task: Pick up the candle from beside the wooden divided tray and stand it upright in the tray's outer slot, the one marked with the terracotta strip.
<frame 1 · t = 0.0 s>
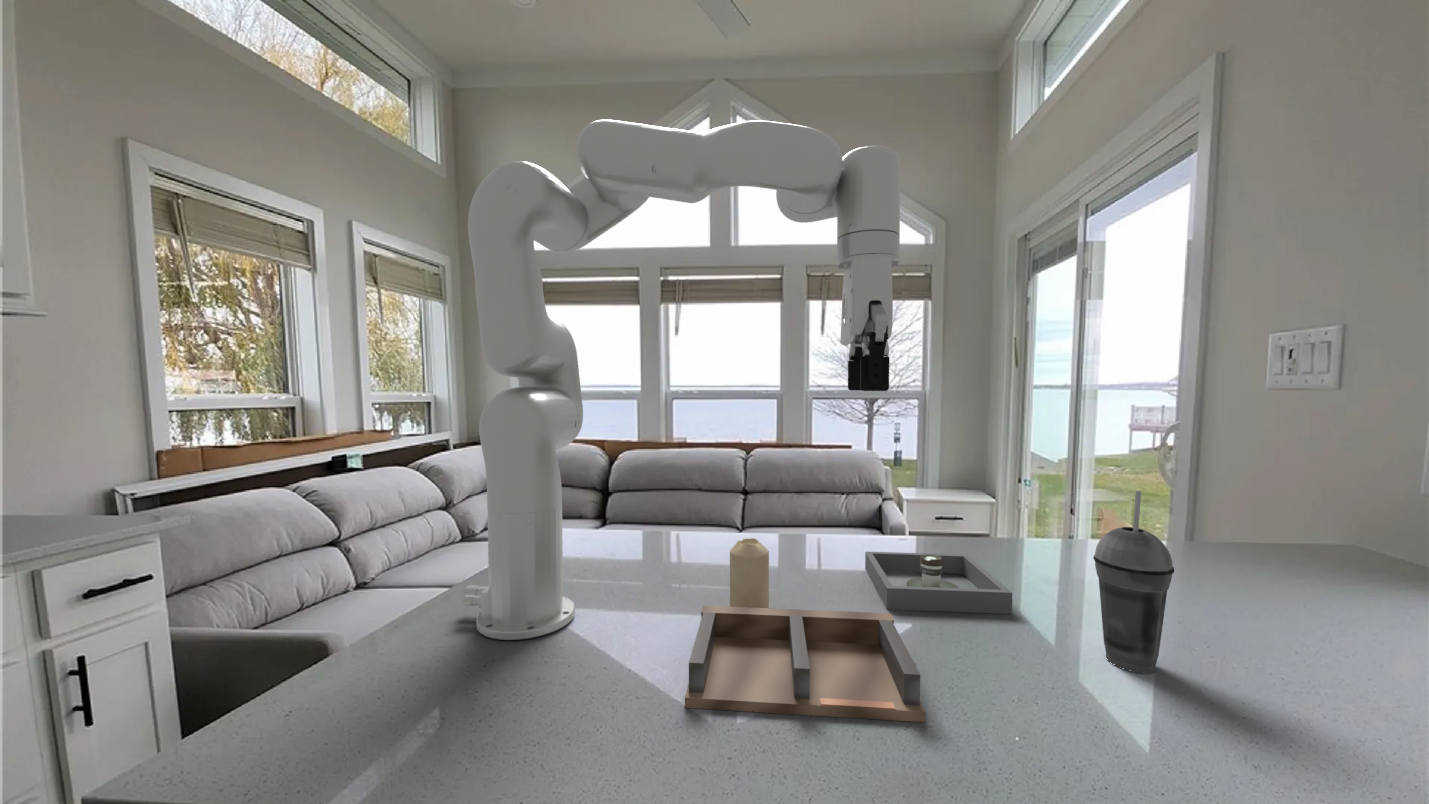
hand: (866, 390, 67), 31 cm above the countertop, fingers open, 9 cm apart
candle: (749, 612, 75), on the countertop
beverage cup: (1130, 664, 61), on the countertop
coffee cup: (930, 588, 84), resting in grey shallow square tray
grey shallow square tray: (930, 588, 84), on the countertop
wooden divided tray: (798, 673, 59), on the countertop
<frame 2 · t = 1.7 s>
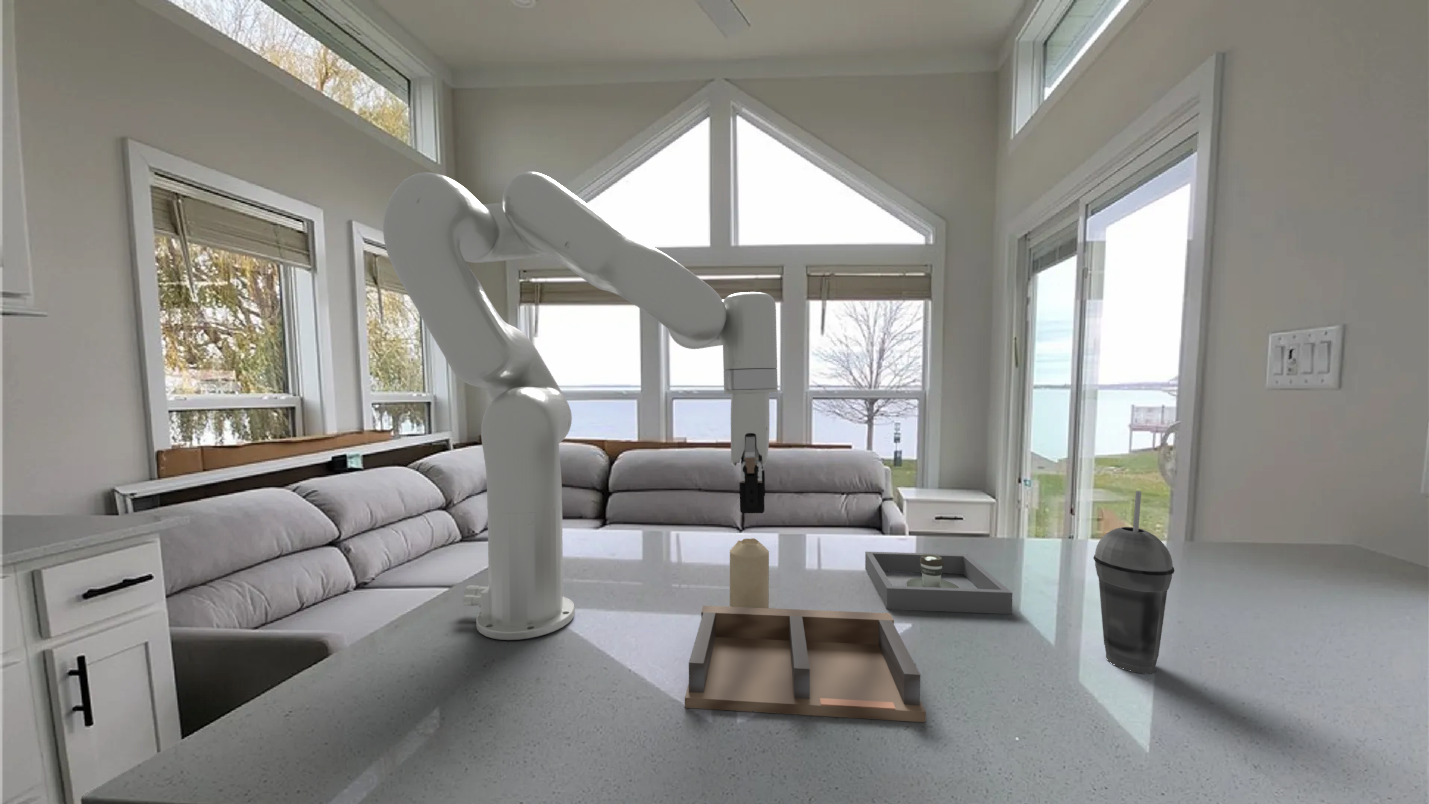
hand: (753, 504, 75), 15 cm above the countertop, fingers open, 9 cm apart
nothing on the countertop moved.
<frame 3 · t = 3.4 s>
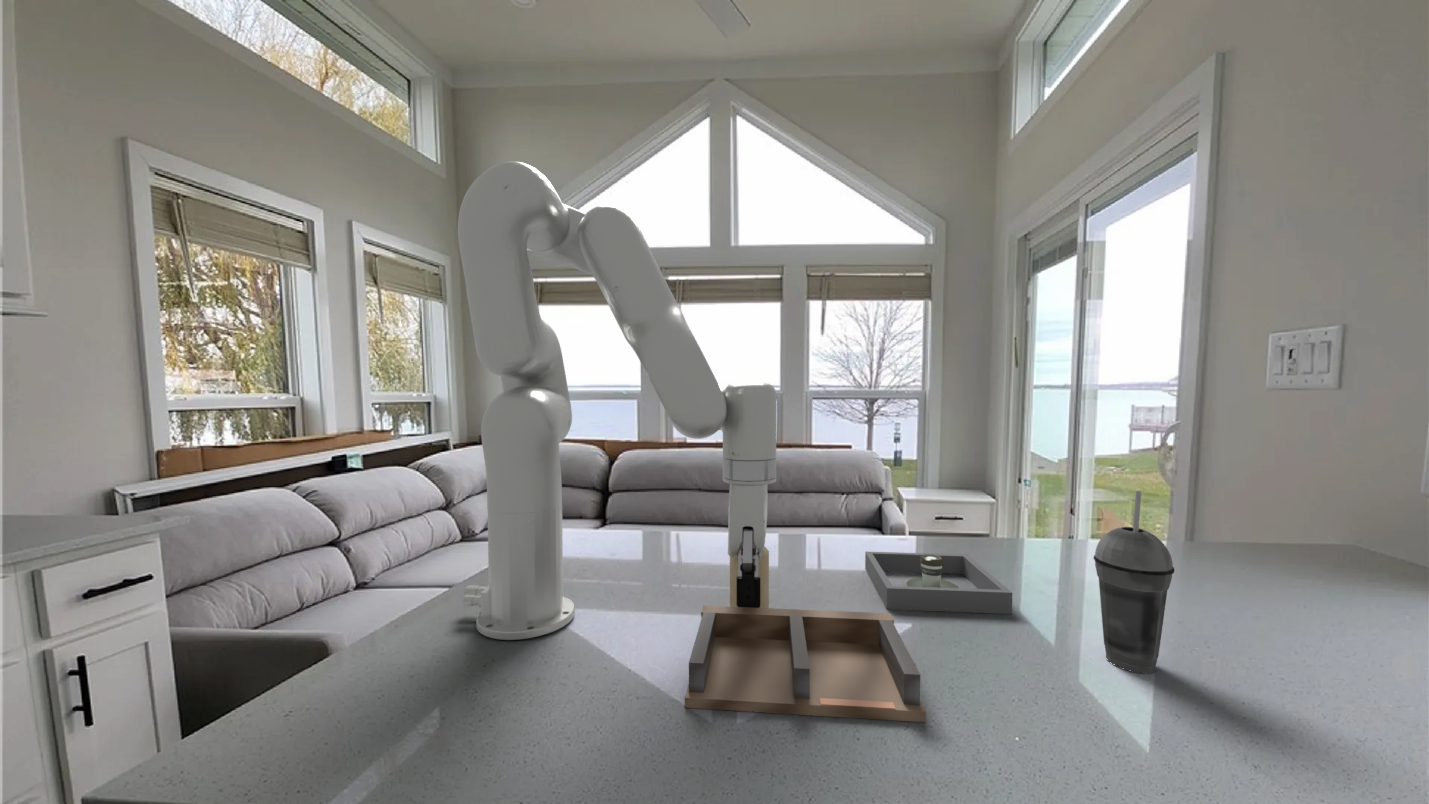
hand: (749, 596, 75), 2 cm above the countertop, fingers closed on candle, 5 cm apart
candle: (749, 612, 75), on the countertop, touching gripper
everything else where it was.
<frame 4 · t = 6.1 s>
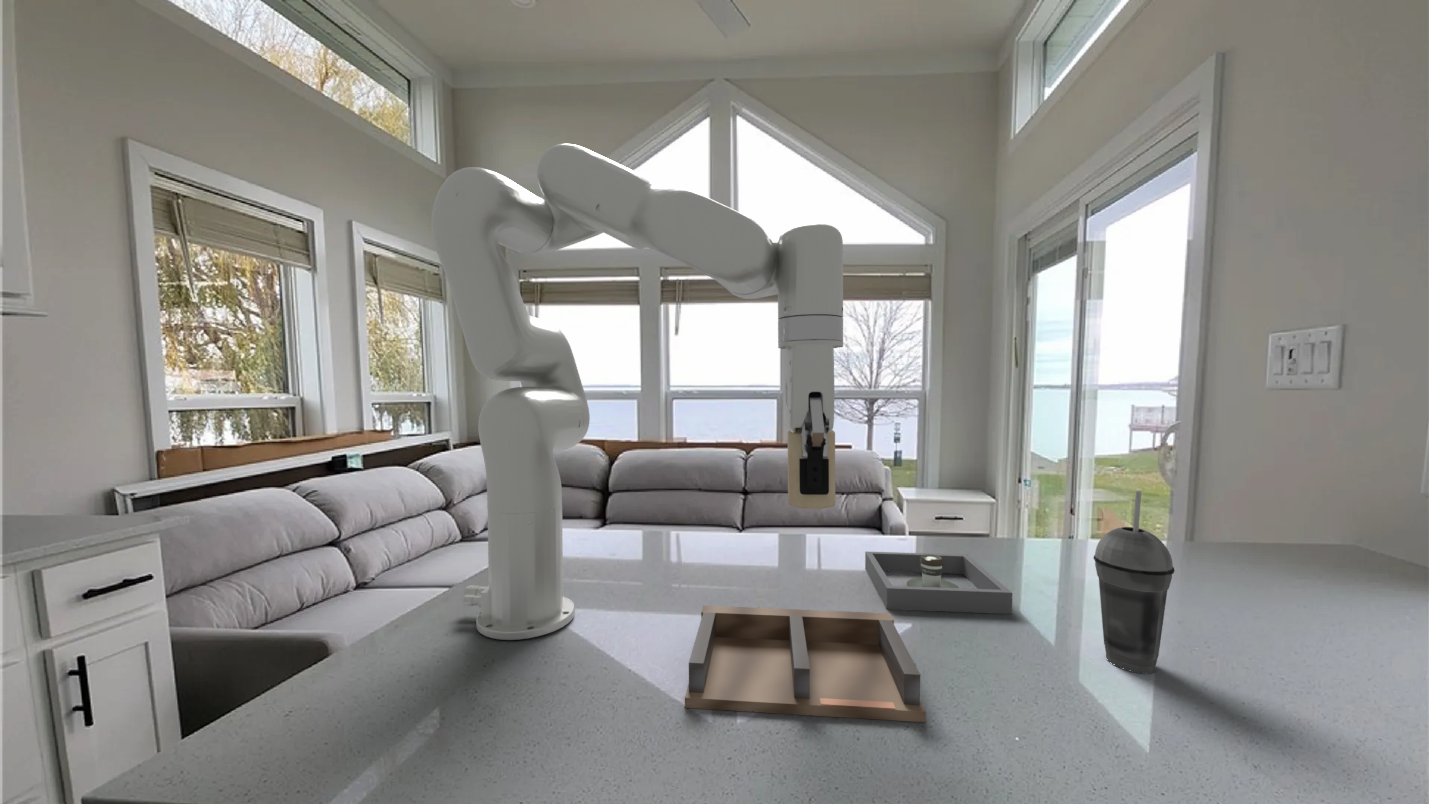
hand: (811, 487, 63), 20 cm above the countertop, fingers closed on candle, 5 cm apart
candle: (811, 505, 63), point 18 cm above the countertop, touching gripper
everything else where it was.
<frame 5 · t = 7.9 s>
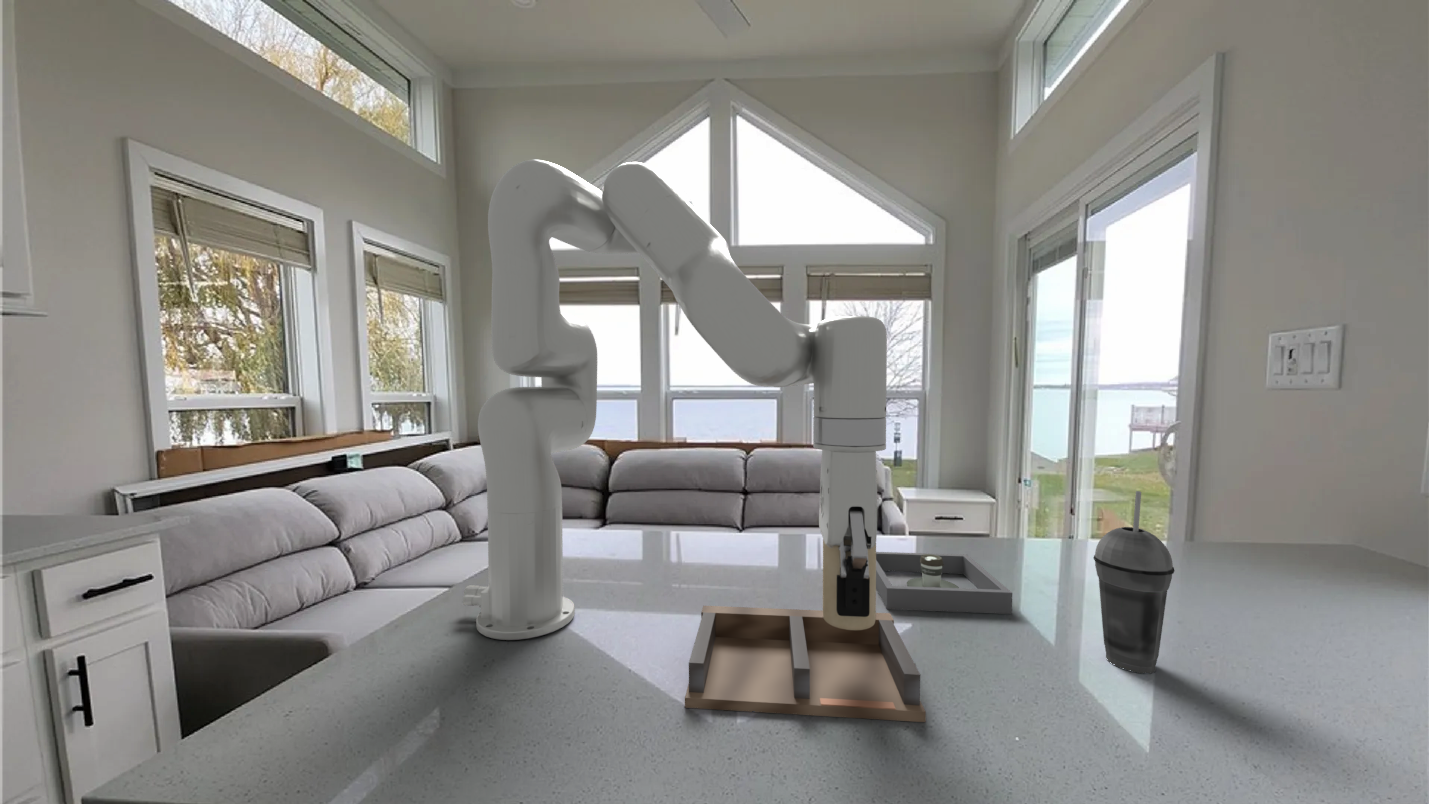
hand: (848, 600, 57), 9 cm above the countertop, fingers closed on candle, 5 cm apart
candle: (848, 621, 57), point 6 cm above the countertop, touching gripper
everything else where it was.
when the fingers open (4 cm above the countertop, at t = 9.1 s): candle drops 1 cm, resting on wooden divided tray.
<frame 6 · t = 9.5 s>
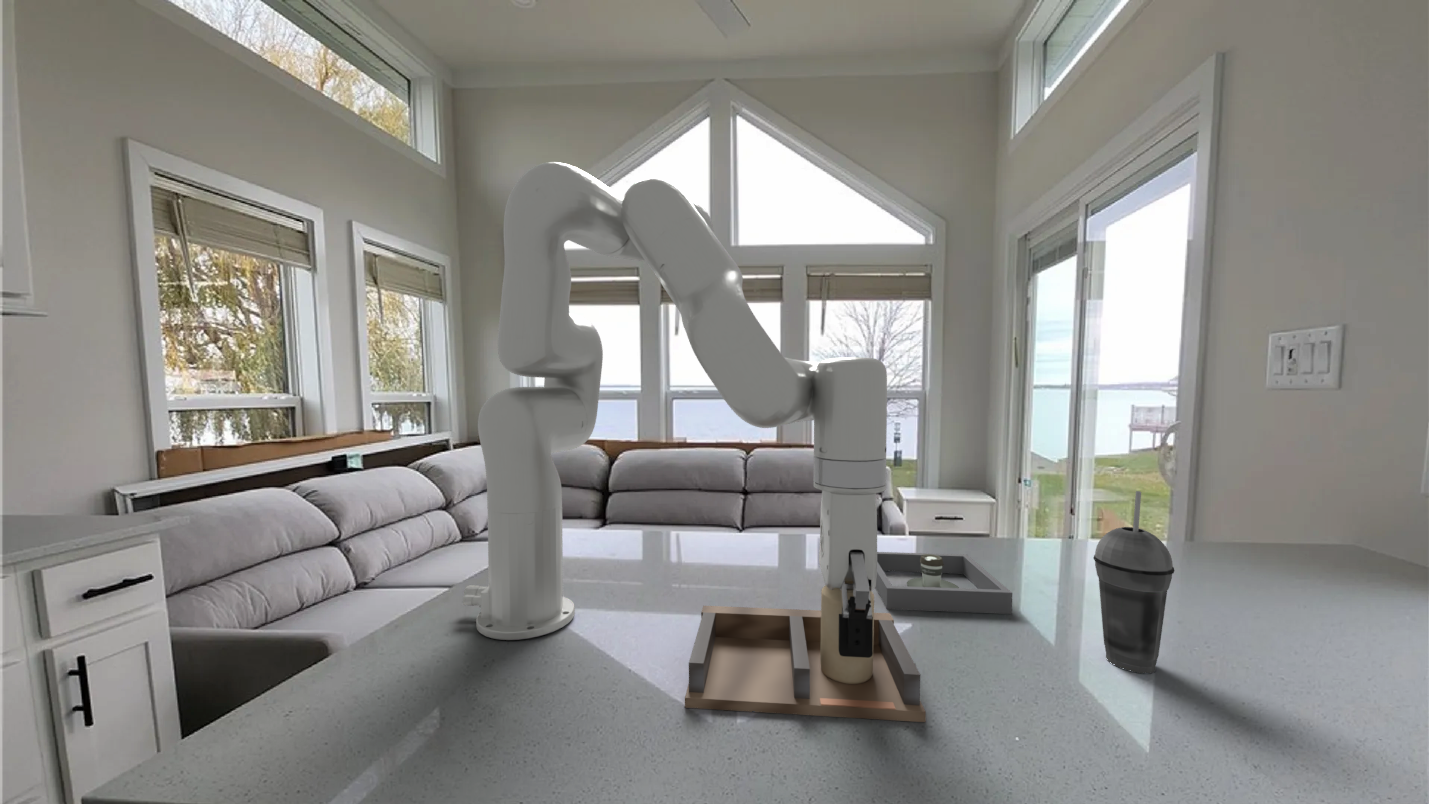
hand: (848, 633, 57), 5 cm above the countertop, fingers open, 9 cm apart
candle: (846, 672, 58), point 1 cm above the countertop, touching wooden divided tray
everything else where it was.
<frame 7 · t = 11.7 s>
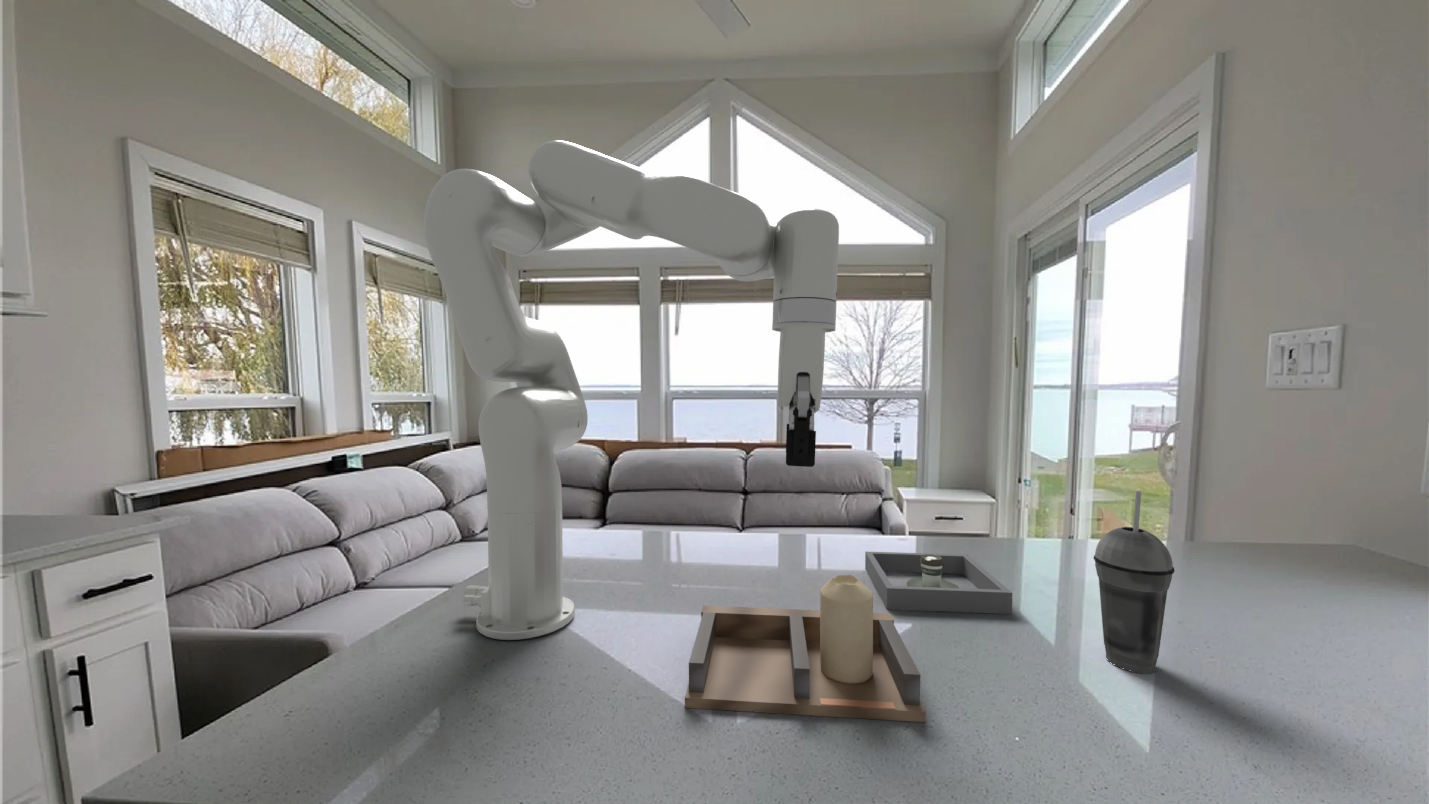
hand: (799, 459, 65), 23 cm above the countertop, fingers open, 9 cm apart
nothing on the countertop moved.
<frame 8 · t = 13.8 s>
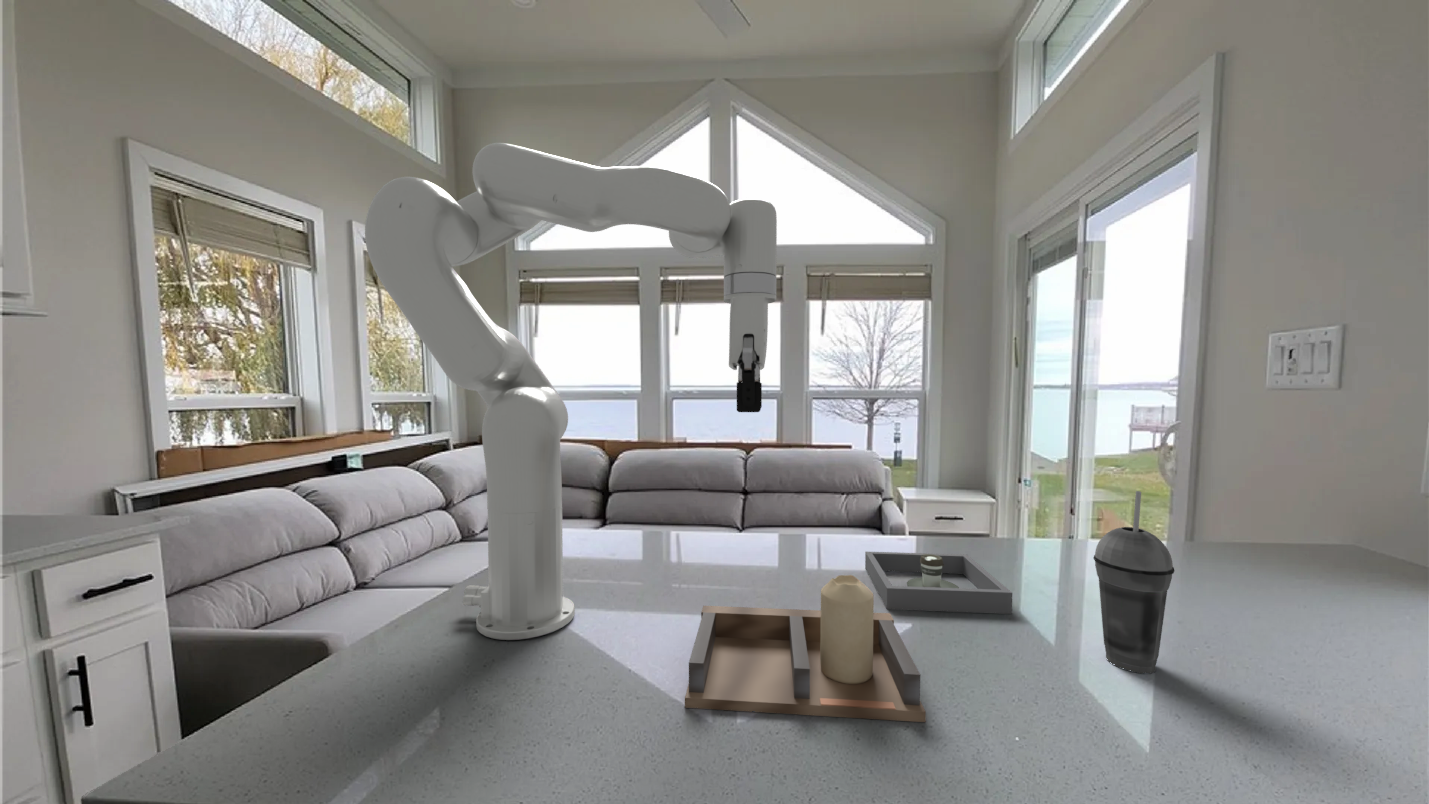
hand: (749, 410, 77), 28 cm above the countertop, fingers open, 9 cm apart
nothing on the countertop moved.
at the end: candle 0.3 cm from the target spot on the wooden divided tray, point 0.8 cm above the wooden divided tray's base; candle tilted 0°; the gripper is holding nothing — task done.
